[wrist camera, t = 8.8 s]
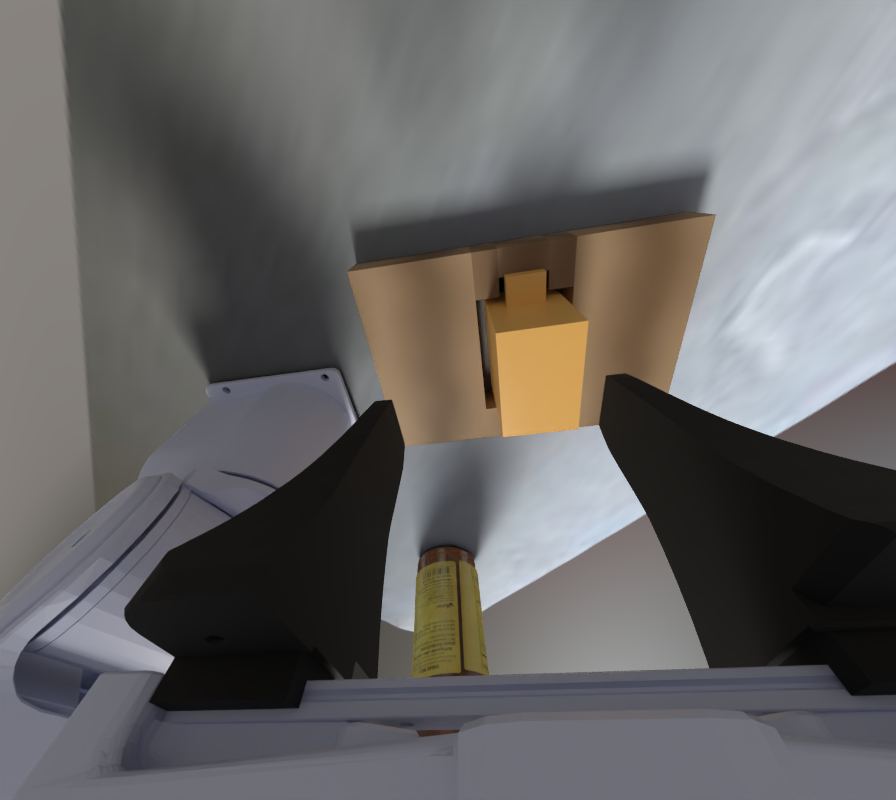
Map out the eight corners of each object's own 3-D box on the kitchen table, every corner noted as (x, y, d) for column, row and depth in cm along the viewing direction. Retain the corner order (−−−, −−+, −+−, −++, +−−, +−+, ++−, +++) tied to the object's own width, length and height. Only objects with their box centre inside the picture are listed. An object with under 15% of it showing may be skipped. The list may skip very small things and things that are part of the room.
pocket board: (402, 429, 25) (399, 446, 23) (356, 264, 18) (346, 272, 17) (646, 401, 24) (661, 417, 22) (689, 212, 17) (715, 214, 15)
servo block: (492, 399, 23) (504, 457, 18) (480, 268, 19) (493, 299, 14) (548, 392, 23) (576, 449, 18) (552, 257, 18) (591, 285, 13)
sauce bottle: (410, 569, 36) (378, 904, 19) (428, 537, 32) (408, 906, 16) (466, 580, 37) (481, 904, 20) (488, 550, 34) (529, 905, 17)
